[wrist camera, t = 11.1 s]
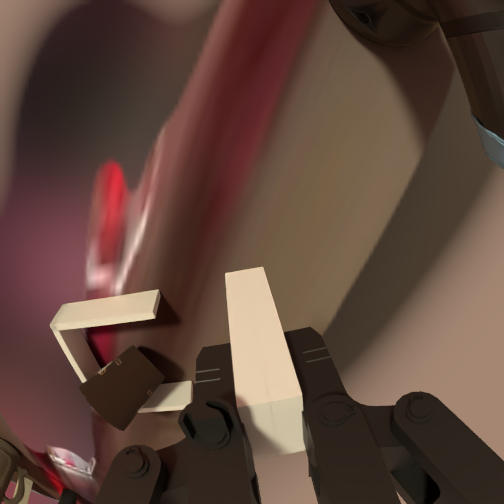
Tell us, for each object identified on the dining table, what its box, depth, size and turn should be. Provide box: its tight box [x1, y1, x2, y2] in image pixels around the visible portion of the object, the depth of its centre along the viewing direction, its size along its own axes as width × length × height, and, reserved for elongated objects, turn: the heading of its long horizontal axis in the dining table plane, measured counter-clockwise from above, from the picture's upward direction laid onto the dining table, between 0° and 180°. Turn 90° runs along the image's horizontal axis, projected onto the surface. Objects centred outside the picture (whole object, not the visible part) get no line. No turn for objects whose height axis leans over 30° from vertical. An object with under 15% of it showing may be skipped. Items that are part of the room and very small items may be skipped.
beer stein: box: [0, 438, 28, 504], centre depth 46 cm, size 15×11×20 cm
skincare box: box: [13, 477, 33, 504], centre depth 58 cm, size 6×4×12 cm
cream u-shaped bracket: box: [50, 289, 193, 413], centre depth 41 cm, size 15×18×5 cm
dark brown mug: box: [80, 345, 166, 431], centre depth 40 cm, size 12×9×10 cm
